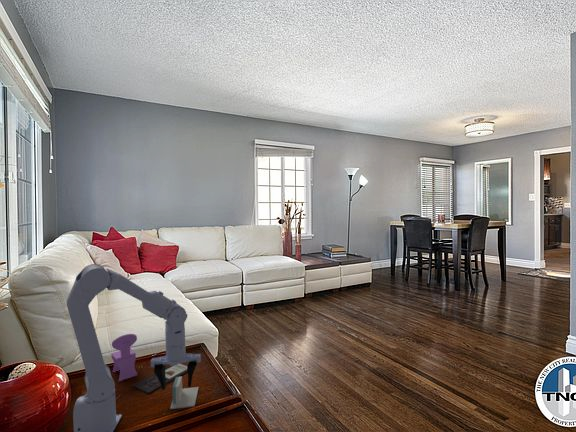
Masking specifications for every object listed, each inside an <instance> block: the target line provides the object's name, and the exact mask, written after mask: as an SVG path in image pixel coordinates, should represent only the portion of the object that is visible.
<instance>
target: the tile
mask: <svg viewBox="0 0 576 432" xmlns="http://www.w3.org/2000/svg"><path fill="white" fill-rule="evenodd" d="M171 389H172V401H173V404H175V403H179V402H180V399H181V396H182V392H183V389H184V388H183V376H180V377H176V379H175V380H174V381H173V384H172V387H171Z"/></svg>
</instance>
